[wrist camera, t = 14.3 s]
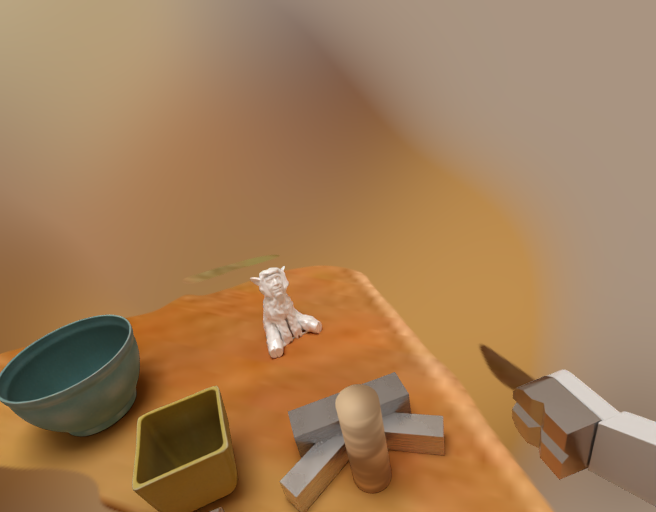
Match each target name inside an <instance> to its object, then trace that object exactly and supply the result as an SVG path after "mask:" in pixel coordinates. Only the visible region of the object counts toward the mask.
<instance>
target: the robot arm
mask: <svg viewBox="0 0 656 512" xmlns="http://www.w3.org/2000/svg"><path fill="white" fill-rule="evenodd" d="M513 399H514V400H515V401H516V402H517V403H516V404H515V406H514V407H513V409H512V418H513V421H514V424H515V426H516V428H517V430H518V431H519V433H520V434H521V436H522V437H523V438H524V439H525V441H526V442H527V443H529V444H531V445H533V446H536V447H538V448H539V453H540V458H541V459H542V460H543V461H544V462H545V464H546V465H547V466H548V467H549V468H550V469H551V470H552V472H553V473H554V474H555V475H556V476H557V477H558V478H559V480H560V479H562V478H565V477H567V476H570V475H572V474H575V473H577V472H579V471H582V470H584V469H586V468H588V470H589V471H591V472H593V473H595V474H597V475H598V476H600V477H602V478H604V479H606V480H607V481H609V482H611V483H613V484H615V485H617V486H618V487H620V488H622V489H624V490H626V491H628V492H629V493H631V494H633V495H635V496H637V497H639V498H641V499H642V500H644V501H646V502H648V503H650V504H652V505H654V506H655V507H656V422H655V421H652V420H649V419H646V418H643V417H641V416H638V415H635V414H632V413H629V412H626V411H624V412H621V413H620V412H619V411H617V410H616V409H615V408H614V407H612V406H611V405H610V404H609V403H607V402H606V401H605V400H604V399H603V398H601V397H600V396H599V395H598V394H596V393H595V392H594V391H593V390H592V389H590V388H589V387H588V386H587V385H585V384H584V383H583V382H582V381H580V380H579V379H578V378H577V377H576V376H574V375H573V374H572V373H571V372H569V371H567V370H559V371H557V372H554V373H552V374H550V375H548V376H544V377H541V378H539V379H536V380H534V381H532V382H529V383H527V384H525V385H522V386H520V387H518V388H516V389H515V390H514V391H513ZM209 512H224V510H223V508H222V507H219V508H216V509H214V510H211V511H209Z"/></svg>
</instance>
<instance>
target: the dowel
mask: <svg viewBox="0 0 656 512" xmlns="http://www.w3.org/2000/svg"><path fill="white" fill-rule="evenodd" d="M335 406H336V410H337V414H338V418H339V422H340V426H341V430H342V434H343V438H344V442H345V446H346V450H347V454H348V458H349V462H350V466H351V470H352V474H353V478H354V481H355V483H356V485H357V486H358V488H360V489H361V490H362V491H364V492H367V493H378V492H380V491H382V490H384V489H385V488H386V487H387V486H388V485H389V483H390V481H391V476H392V473H391V466H390V460H389V455H388V449H387V443H386V437H385V431H384V425H383V419H382V414H381V408H380V402H379V397H378V394H377V393H376V391H375V390H374V389H373V388H371V387H369V386H367V385H362V384H356V385H351V386H349V387H346V388H345V389H343V390H342V391H341V392H340V393H339V394H338V396H337V398H336V402H335Z"/></svg>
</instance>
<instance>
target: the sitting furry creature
mask: <svg viewBox="0 0 656 512" xmlns="http://www.w3.org/2000/svg"><path fill="white" fill-rule="evenodd" d="M284 268H285V266H283V267H282V268H281V269H279V268H269V269H268V270H264V271H262V272H261V273H260V274H259V278H256V277H253V278H250V280H251V281H252V282H253V283H255V284H256V285H258V286H259V289H260V292H261V293H262V294H263V295H265V299H264V300H263V304H264V305H263V308H264V310H263V311H264V316H263V323H264V328H265V332H266V338H267V344H268V350H269V354H270V356H271V357H272V358H277V357H280V356H281V355H282V354H283V347H285V346H286V345H287V344H289V343H290V341H291V342H292V341H293V339H294V338H299V337H298V335H299V336H300V337H302V335H304V334H306V333H307V332H313V333H318V334H319V333H320V332H321V329H322V324H321V322H319V321H317V319H315V318H314V317H313V316H308V315H303V314H301V313H300V312H298V311H297V310H296V309H295V308H294V307H293V302H292V301H291V298H290V297H289V296H288V294H287V293H286V289H287V287H288V285H289V282H288V281H287V279H286V277H285V273H284ZM303 330H305V332H303V333H302V331H303ZM290 331H291V332H292V334H293V335H294V337H292V334H291V332H290ZM282 340H283V341H282Z"/></svg>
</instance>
